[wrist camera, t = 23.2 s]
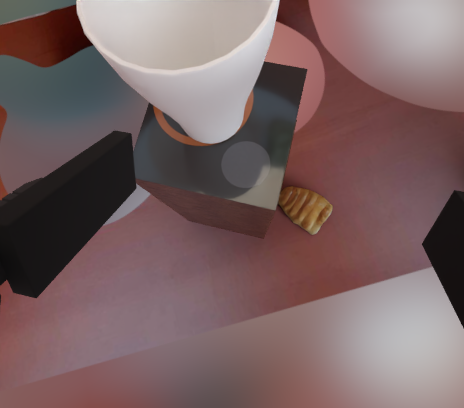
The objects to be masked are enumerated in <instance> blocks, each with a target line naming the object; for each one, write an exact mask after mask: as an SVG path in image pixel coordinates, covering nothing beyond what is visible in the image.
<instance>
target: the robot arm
mask: <svg viewBox="0 0 464 408" xmlns="http://www.w3.org/2000/svg"><path fill="white" fill-rule="evenodd" d="M135 189H136V178H135V167H134V157H133V146H132V136H131V133H126V132H120V131H113V132H112V133H111V134H109V135H107V136H106V137H104V138H103V139H101V140H100V141H98V142H97V143H95V144H94V145H92V146H91V147H89V148H88V149H86V150H85V151H83V152H82V153H80V154H79V155H77V156H76V157H75V158H73V159H71V160H70V161H68V162H67V163H65V164H64V165H62V166H61V167H60V168H58V169H56V170H55V171H53V172H52V173H50V174H49V175H47V176H46V177H44V178H39V179H36V180H34V181H31V182H28V183H26V184H24V185H22V186H21V187H19V188H18V189H16V190H15V191H13V193H12V194H11V193H10V194H8V195H7V196H5V197H4V198H2V201H1V200H0V285H1V284H3V283H4V282H5V281H6V280H8V282H9V284H10V286H11V289H12V291H13V293H17V294H21V295H25V296H29V297H33V298H37V297H38V296H39V295H40V294H41V293H42V292H43V291H44V289H45V288H46V287H47V286H48V285H49V284H50V283H51V282H52V281H53V280H54V278H55V277H56V276H57V275H58V274H59V273H60V272H61V271H62V270H63V269H64V267H65V266H66V265H67V264H68V263H69V262H70V261H71V260H72V259H73V258H74V256H75V255H76V254H77V253H78V252H79V251H80V250H81V249H82V248H83V247H84V245H85V244H86V243H87V242H88V241H89V240H90V239H91V238H92V237H93V235H94V234H95V233H96V232H97V231H98V230H99V229H100V228H101V227H102V226H103V224H104V223H105V222H106V221H107V220H108V219H109V218H110V217H111V216H112V214H113V213H114V212H115V211H116V210H117V209H118V208H119V207H120V206H121V205H122V204H123V202H124V201H125V200H126V199H127V198H128V197H129V196H130V195H131V194H132V193H133V191H134V190H135ZM422 245H423V247H424V249H425V252H426V254H427V256H428V258H429V260H430V262H431V264H432V266H433V268H434V270H435V272H436V274H437V276H438V277H439V280H440V282H441V284H442V286H443V288H444V290H445V292H446V294H447V296H448V298H449V300H450V302H451V304H452V306H453V308H454V310H455V312H456V314H457V316H458V318H459V320H460V322H461V324H462V326H463V328H464V192H461V191H456V190H454V192H453V193H452V195H451V197H450V198H449V200H448V202H447V203H446V205H445V207H444V208H443V210H442V211H441V213H440V215H439V216H438V218H437V220H436V221H435V223H434V225H433V226H432V228H431V230H430V231H429V233H428V235H427V236H426V238H425V240H424V241H423V243H422ZM0 303H1V295H0Z"/></svg>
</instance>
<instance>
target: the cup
mask: <svg viewBox="0 0 464 408" xmlns="http://www.w3.org/2000/svg"><path fill="white" fill-rule="evenodd" d="M279 1H280V0H77V14H78V17H79V20H80V22H81V25H82V28H83V30H84V33H85V35H86V36H87V37H88V39H89V40H90V41H91V42H92V44H93V45H94V46H95V47H96V49H97V50H98V51H99V52H100V53H101V55H102V56H103V57H104V58H105V59H106V61H107V62H108V63H109V64H110V65H111V66H112V67H113V69H114V70H115V71H116V72H117V73H118V74H119V76H120V77H121V78H122V79H123V80H124V81H125V82H126V83H127V84H128V85H130V86H131V87H132V88H133V89H134V90H135V91H137V92H138V93H139V94H140V95H141V96H142V97H144V98H145V99H146V100H147V101H148V102H149V103H151V104H152V105H154V106H155V107H157V108H158V109H160V110H161V111H162V112H164V113H166V114H167V115H169V116H170V117H171V118H172V119H174V120H175V121H176V122H177V123H179V124H180V126H181V127H182V128H183V130H184V131H185V132H186V133H187V134H188V136H190V137H191V138H193V139H194V140H196V141H199V142H201V143H208V144H214V143H220V142H222V141H225V140H227V139H229V138H230V137H231V136H233V135H234V134H235V133H236V132H237V130H238V129H239V128H240V126H241V124H242V121H243V117H244V110H245V105H246V102H247V99H248V97H249V95H250V93H251V91H252V89H253V87H254V85H255V83H256V80H257V78H258V76H259V73H260V71H261V68H262V65H263V63H264V60H265V57H266V54H267V51H268V48H269V45H270V42H271V39H272V37H273V32H274V26H275V21H276V16H277V11H278V6H279Z"/></svg>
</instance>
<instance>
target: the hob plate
mask: <svg viewBox="0 0 464 408" xmlns="http://www.w3.org/2000/svg"><path fill="white" fill-rule="evenodd" d="M306 73H307V69H304V68H298V67H292V66H286V65H281V64H275V63H270V62H264V63H263V65H262V68H261V71H260V73H259V76H258V78H257V80H256V83H255V85H254V87H253V89H252V91H251V93H250V95H249V97H248V99H247V102H246V105H245V110H244V117H243V121H242V124H241V126H240V128H239V129H238V130H237V132H236V133H235V134H234V135H233V136H231V137H230V138H229V139H227V140H225V141H222V142H220V143H214V144H208V143H201V142H199V141H196V140H194V139H193V138H191V137H190V136H188V134H187V133H186V132H185V131H184V130H183V128H182V127H181V126H180V124H179V123H177V122H176V121H175V120H174V119H172V118H171V117H170V116H169V115H167V114H166V113H164V112H162V111H161V110H160V109H158V108H157V107H155V106H154V105H152V104H151V103H149V105H148V108H147V111H146V114H145V117H144V120H143V123H142V127H141V130H140V133H139V136H138V139H137V142H136V145H135V148H134V151H133V157H134V167H135V178H136V179H139V180H143V181H147V182H152V183H156V184H160V185H165V186H169V187H174V188H178V189H182V190H187V191H191V192H195V193H200V194H204V195H208V196H213V197H217V198H222V199H226V200H230V201H235V202H239V203H243V204H248V205H252V206H256V207H261V208H265V209H269V210H274V211H276V207H277V203H278V198H279V194H280V189H281V185H282V180H283V176H284V172H285V167H286V163H287V158H288V154H289V149H290V145H291V140H292V136H293V131H294V127H295V122H296V118H297V113H298V109H299V104H300V100H301V96H302V91H303V86H304V82H305V78H306Z"/></svg>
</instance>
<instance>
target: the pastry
mask: <svg viewBox="0 0 464 408" xmlns="http://www.w3.org/2000/svg"><path fill="white" fill-rule="evenodd" d="M278 204H279V205H280V206H281V208H282V209H283V210H284V212H285V214H286V215H287V216H288V217H289V218H290V219H291V220H292V222H293V223H295V224H298V225H299V226H301V227H302V228H303V229H305V230H306V231H308V232H309V233H310V234H312V235H314V234H316V233H317V232H318V231H319V229H320V227H321V225H322V224H323V223H324V222H325V220H326V219H327V218H328V217H329V215H330V214H331V212H332V205H331V204H330V203H329V202H328V201H327V200H326V199H325V198H324V197H323V196H321V195H319V194H317V193H315V192H314V191H310V190H308V189H304V188H297V187H294V186H289V187H286V188H284V189H283V190H282V191H281V193H280V197H279V202H278Z"/></svg>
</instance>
